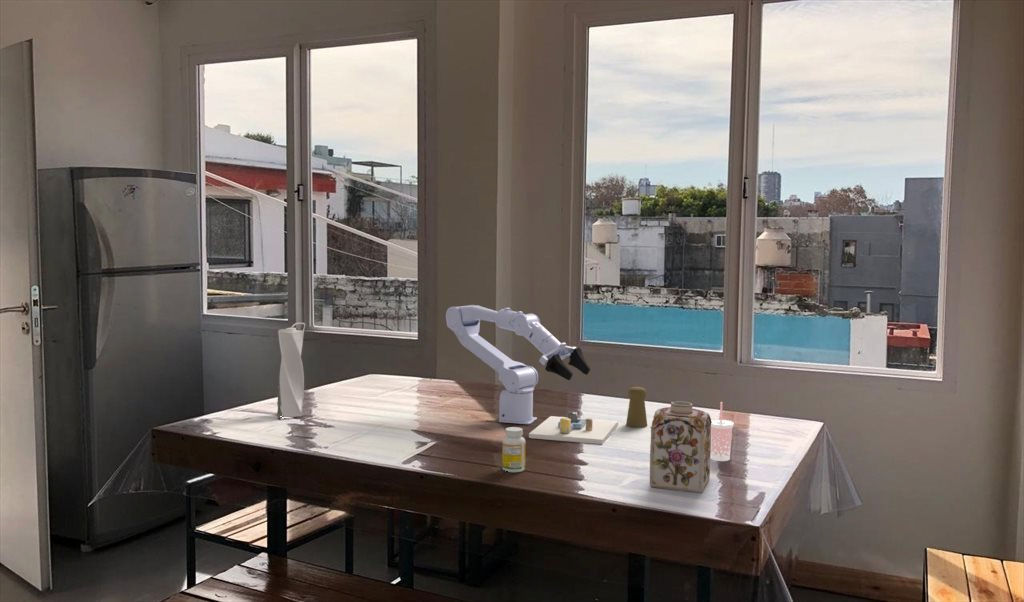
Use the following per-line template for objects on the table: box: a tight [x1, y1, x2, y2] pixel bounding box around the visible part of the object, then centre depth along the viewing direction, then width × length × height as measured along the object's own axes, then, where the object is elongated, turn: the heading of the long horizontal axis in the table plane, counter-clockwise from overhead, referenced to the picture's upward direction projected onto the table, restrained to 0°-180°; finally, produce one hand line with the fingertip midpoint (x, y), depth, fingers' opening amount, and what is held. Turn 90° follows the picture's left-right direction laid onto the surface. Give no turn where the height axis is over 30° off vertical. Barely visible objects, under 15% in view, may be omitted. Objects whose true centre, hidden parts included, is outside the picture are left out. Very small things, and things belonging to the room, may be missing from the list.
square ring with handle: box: [558, 418, 587, 433], centre depth 226 cm, size 13×6×3 cm, turn 162°
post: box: [566, 411, 579, 423], centre depth 229 cm, size 3×3×5 cm
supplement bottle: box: [501, 426, 526, 473], centre depth 192 cm, size 5×5×10 cm
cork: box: [625, 386, 648, 429], centre depth 236 cm, size 6×6×11 cm
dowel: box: [585, 418, 593, 431], centre depth 225 cm, size 2×2×4 cm
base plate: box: [528, 415, 619, 445], centre depth 228 cm, size 20×22×1 cm
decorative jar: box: [649, 400, 712, 494], centre depth 182 cm, size 12×12×18 cm
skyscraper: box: [276, 321, 306, 419], centre depth 244 cm, size 8×8×28 cm
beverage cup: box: [710, 401, 734, 462], centre depth 201 cm, size 6×6×14 cm
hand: (579, 374), depth 226 cm, fingers open, 7 cm apart
